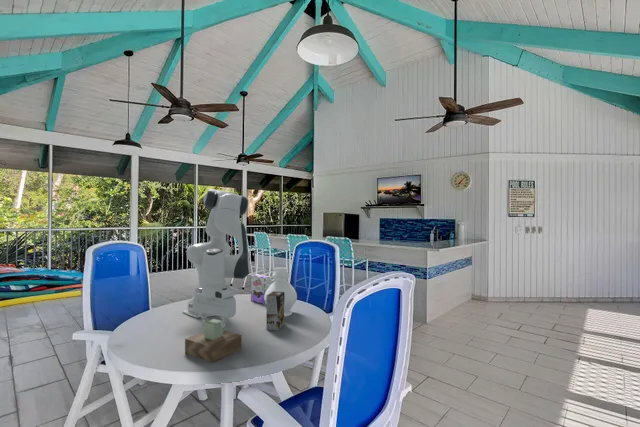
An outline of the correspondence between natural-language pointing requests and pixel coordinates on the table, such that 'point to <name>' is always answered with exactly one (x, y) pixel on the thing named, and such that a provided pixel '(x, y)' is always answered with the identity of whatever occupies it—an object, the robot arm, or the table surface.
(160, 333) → the table surface
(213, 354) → the walnut block
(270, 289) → the decorative vase
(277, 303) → the coffee box
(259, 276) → the candy box
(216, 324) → the sage block
